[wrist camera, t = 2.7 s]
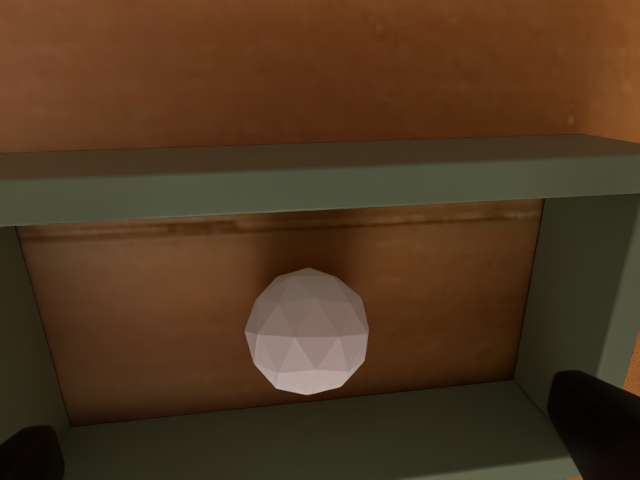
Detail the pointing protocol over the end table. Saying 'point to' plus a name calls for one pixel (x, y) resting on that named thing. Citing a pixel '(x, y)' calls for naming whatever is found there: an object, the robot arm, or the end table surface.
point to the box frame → (364, 411)
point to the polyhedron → (307, 332)
